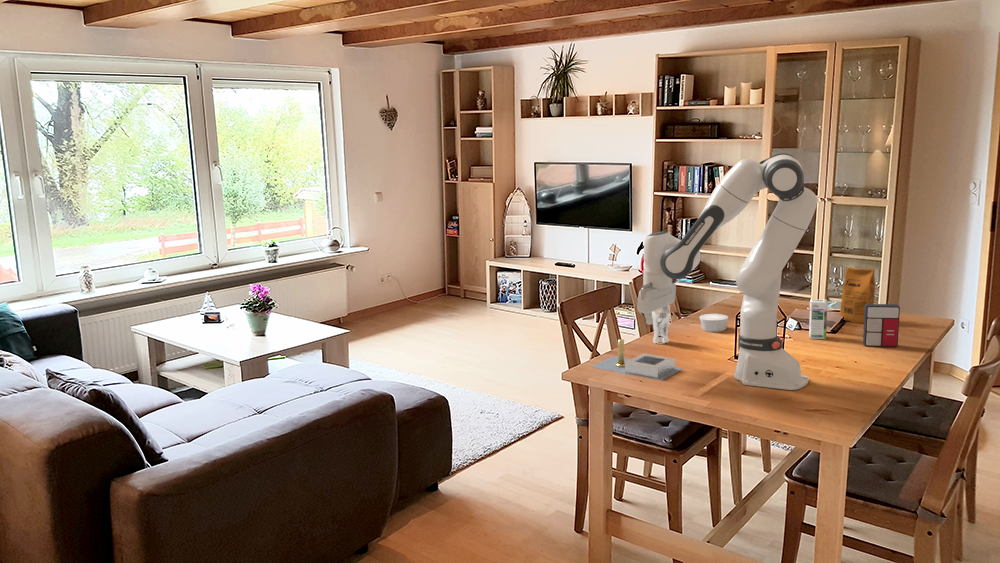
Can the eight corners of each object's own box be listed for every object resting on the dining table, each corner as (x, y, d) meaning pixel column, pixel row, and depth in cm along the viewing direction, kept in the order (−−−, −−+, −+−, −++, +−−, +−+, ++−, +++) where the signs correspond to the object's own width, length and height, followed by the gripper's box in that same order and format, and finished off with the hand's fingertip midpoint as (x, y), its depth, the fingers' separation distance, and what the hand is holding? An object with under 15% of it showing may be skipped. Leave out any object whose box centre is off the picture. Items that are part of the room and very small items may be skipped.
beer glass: (670, 344, 287) (670, 306, 284) (651, 344, 288) (651, 305, 286) (669, 339, 294) (670, 302, 291) (651, 339, 295) (651, 301, 292)
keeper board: (683, 372, 253) (683, 368, 253) (661, 385, 242) (661, 380, 242) (613, 360, 270) (613, 356, 270) (590, 371, 259) (590, 366, 259)
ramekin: (698, 332, 303) (699, 319, 302) (700, 325, 313) (700, 313, 312) (728, 333, 300) (728, 320, 299) (728, 326, 310) (728, 313, 309)
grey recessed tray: (674, 369, 253) (674, 358, 252) (657, 378, 244) (657, 367, 243) (642, 363, 260) (642, 353, 260) (625, 372, 251) (625, 362, 251)
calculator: (865, 346, 274) (867, 306, 271) (862, 343, 278) (864, 303, 275) (898, 347, 271) (900, 306, 268) (895, 344, 275) (897, 304, 273)
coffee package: (846, 315, 319) (848, 264, 315) (877, 320, 310) (879, 267, 306) (835, 320, 312) (838, 267, 308) (867, 325, 303) (869, 270, 299)
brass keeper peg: (629, 364, 259) (629, 339, 257) (623, 367, 256) (623, 342, 254) (619, 363, 262) (618, 337, 260) (613, 366, 259) (612, 340, 257)
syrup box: (809, 339, 287) (811, 301, 284) (808, 335, 292) (810, 298, 289) (826, 339, 285) (827, 302, 282) (824, 335, 290) (826, 298, 288)
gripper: (650, 287, 240) (649, 329, 243) (679, 276, 256) (678, 316, 258) (632, 285, 244) (632, 326, 247) (662, 274, 260) (662, 313, 262)
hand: (656, 321), depth 253 cm, fingers open, 8 cm apart
